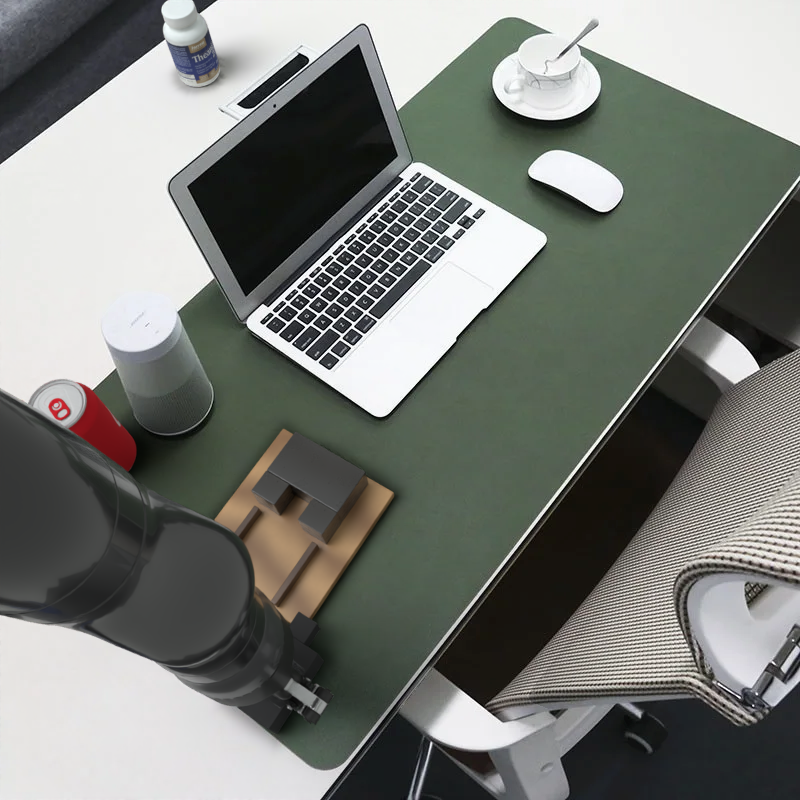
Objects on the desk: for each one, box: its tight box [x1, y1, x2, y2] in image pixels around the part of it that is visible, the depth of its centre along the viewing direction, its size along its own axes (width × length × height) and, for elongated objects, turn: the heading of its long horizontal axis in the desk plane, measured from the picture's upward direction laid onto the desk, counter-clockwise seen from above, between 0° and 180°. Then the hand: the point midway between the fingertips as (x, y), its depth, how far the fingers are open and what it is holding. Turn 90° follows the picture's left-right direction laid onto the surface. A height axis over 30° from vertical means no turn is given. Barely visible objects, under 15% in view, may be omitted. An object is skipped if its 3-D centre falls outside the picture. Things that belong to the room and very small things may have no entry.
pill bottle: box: [161, 0, 221, 88], centre depth 103 cm, size 5×5×10 cm
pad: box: [236, 612, 325, 735], centre depth 71 cm, size 9×5×4 cm, turn 147°
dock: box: [213, 428, 395, 625], centre depth 77 cm, size 15×13×4 cm
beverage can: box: [27, 378, 137, 472], centre depth 77 cm, size 6×6×12 cm
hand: (276, 679), depth 72 cm, fingers closed on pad, 5 cm apart
